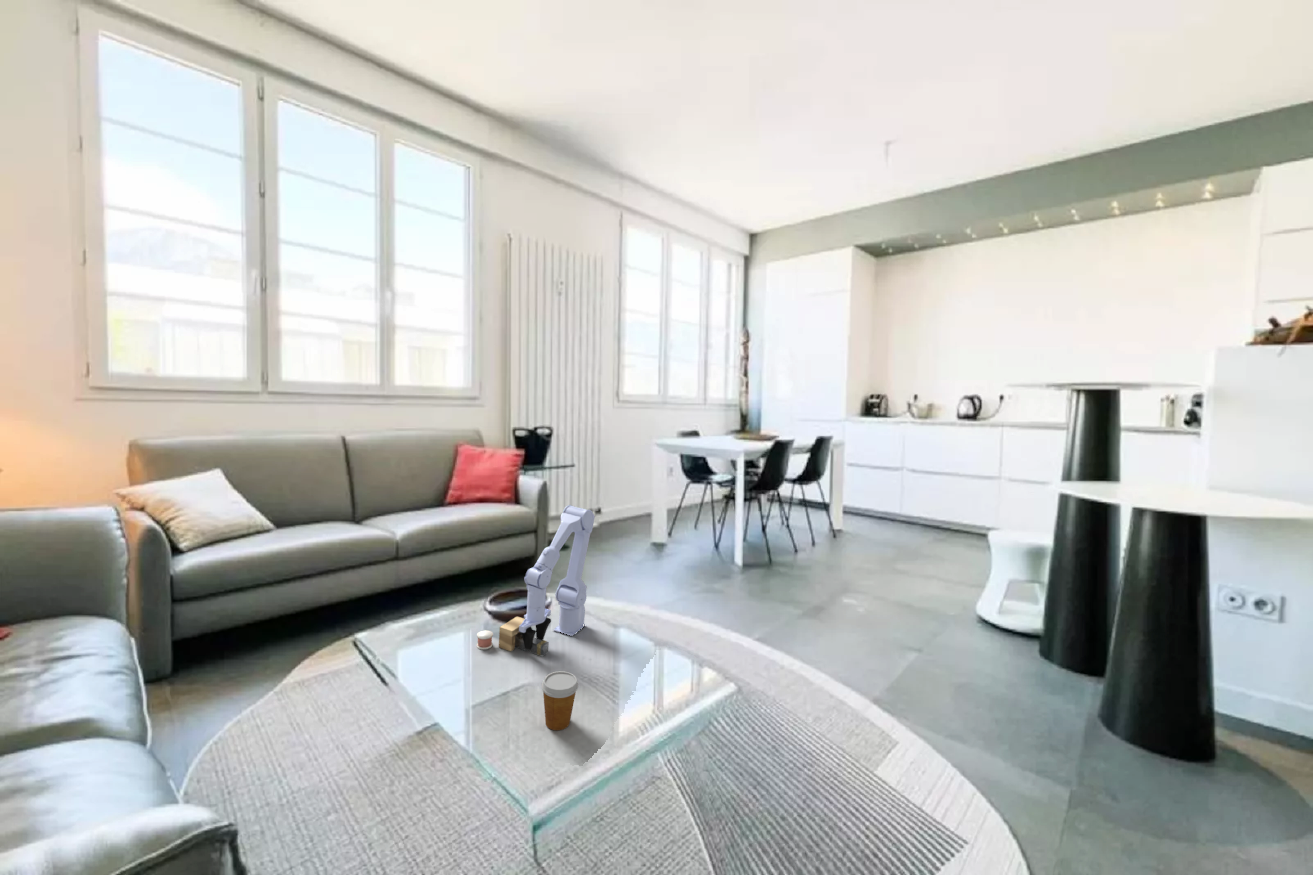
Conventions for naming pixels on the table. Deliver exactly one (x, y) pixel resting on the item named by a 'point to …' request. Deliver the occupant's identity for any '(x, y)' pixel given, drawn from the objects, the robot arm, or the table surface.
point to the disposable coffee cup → (559, 698)
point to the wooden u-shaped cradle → (509, 633)
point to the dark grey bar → (537, 647)
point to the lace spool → (484, 639)
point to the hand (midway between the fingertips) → (534, 644)
